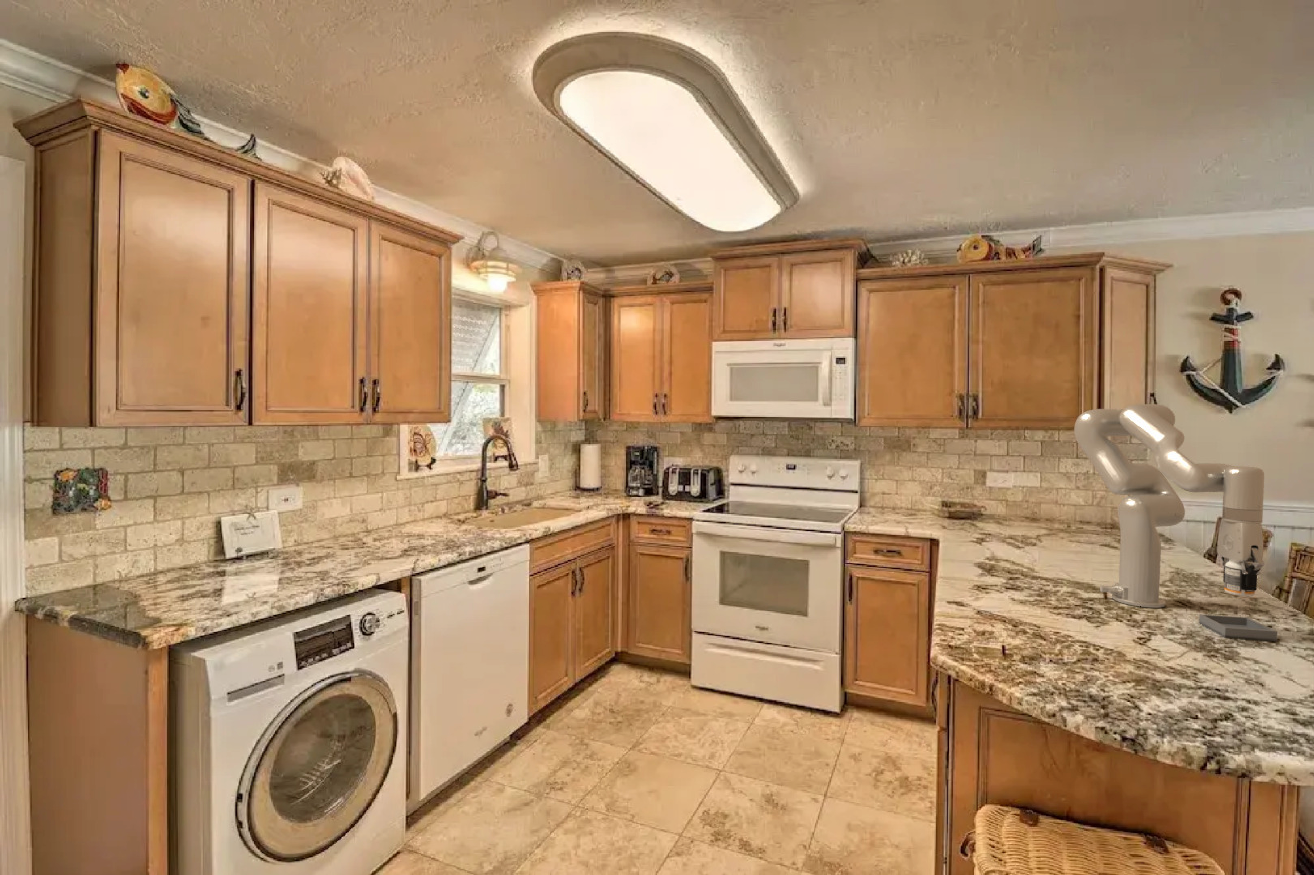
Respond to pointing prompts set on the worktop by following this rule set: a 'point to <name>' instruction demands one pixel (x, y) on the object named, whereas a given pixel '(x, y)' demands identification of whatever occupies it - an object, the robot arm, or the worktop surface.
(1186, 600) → the worktop surface
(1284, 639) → the worktop surface
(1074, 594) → the worktop surface
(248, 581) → the worktop surface
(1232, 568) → the pill bottle
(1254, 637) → the tray
